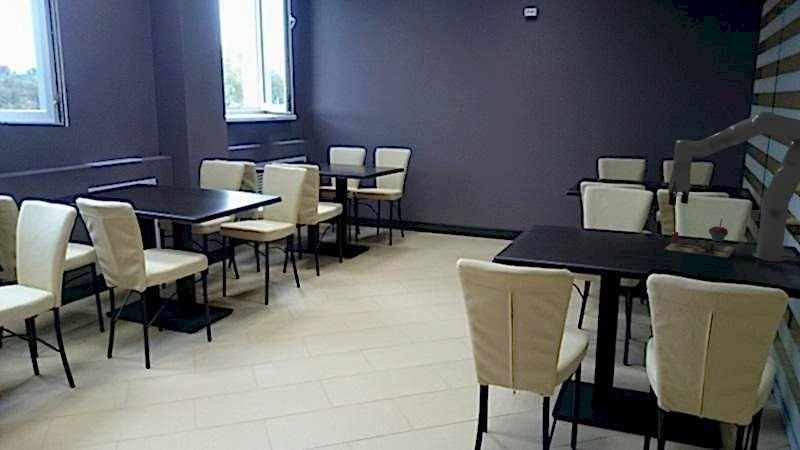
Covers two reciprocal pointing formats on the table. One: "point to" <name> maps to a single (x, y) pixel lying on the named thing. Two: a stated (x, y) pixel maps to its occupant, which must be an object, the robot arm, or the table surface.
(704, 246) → the walnut
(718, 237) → the cupcake
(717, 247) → the lever
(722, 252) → the cracker base
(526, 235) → the table surface
